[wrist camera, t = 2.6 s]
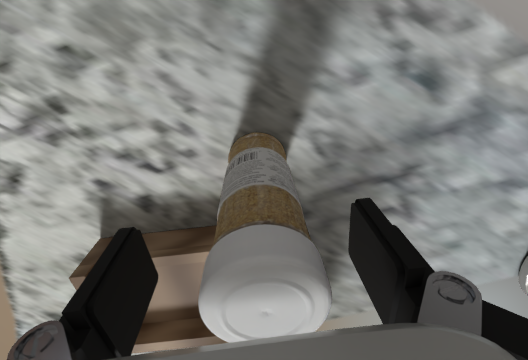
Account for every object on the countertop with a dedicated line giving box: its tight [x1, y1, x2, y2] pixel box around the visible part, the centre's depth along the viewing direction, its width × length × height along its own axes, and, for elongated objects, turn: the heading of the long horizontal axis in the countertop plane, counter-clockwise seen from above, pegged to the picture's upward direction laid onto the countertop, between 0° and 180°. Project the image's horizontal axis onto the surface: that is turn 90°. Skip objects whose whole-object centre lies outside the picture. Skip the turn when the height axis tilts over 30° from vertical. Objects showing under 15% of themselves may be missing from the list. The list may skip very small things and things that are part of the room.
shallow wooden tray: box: [69, 226, 229, 353], centre depth 24 cm, size 16×10×4 cm, turn 96°
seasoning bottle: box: [198, 132, 332, 343], centre depth 14 cm, size 5×5×14 cm
